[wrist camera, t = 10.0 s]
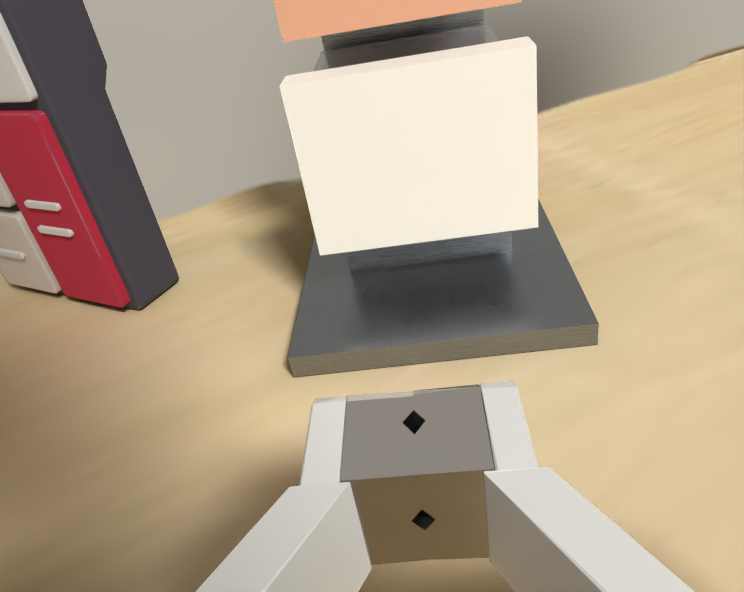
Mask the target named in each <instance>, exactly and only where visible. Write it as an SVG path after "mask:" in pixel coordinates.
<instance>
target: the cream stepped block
mask: <svg viewBox="0 0 744 592" xmlns="http://www.w3.org/2000/svg"><path fill="white" fill-rule="evenodd" d="M536 68H537V67H536V44H535V43H534V42H533V41H532V40H531V39H530V38H529V37H521V38H515V39H509V40H503V41H497V42H491V43H485V44H479V45H472V46H466V47H460V48H454V49H448V50H442V51H436V52H429V53H423V54H417V55H411V56H405V57H399V58H393V59H387V60H380V61H374V62H368V63H362V64H356V65H350V66H344V67H337V68H331V69H325V70H319V71H313V72H307V73H301V74H295V75H288V76H285V78H284V80H283V82H282V83H281V85H280V90H281V94H282V99H283V103H284V107H285V111H286V115H287V119H288V124H289V128H290V132H291V136H292V140H293V144H294V149H295V153H296V157H297V161H298V165H299V169H300V174H301V178H302V182H303V186H304V191H305V195H306V199H307V203H308V207H309V211H310V216H311V220H312V224H313V228H314V232H315V237H316V241H317V245H318V249H319V253H320V255H328V254H336V253H344V252H351V251H359V250H367V249H374V248H382V247H390V246H398V245H405V244H413V243H421V242H429V241H436V240H444V239H452V238H460V237H467V236H475V235H483V234H490V233H498V232H506V231H514V230H521V229H529V228H537V227H538V151H537V71H536V70H537V69H536Z"/></svg>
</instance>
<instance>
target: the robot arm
mask: <svg viewBox="0 0 744 592" xmlns="http://www.w3.org/2000/svg"><path fill="white" fill-rule="evenodd" d="M464 558H490V561H491V563H492V564H493V565H494V567H495V568H496V569H497V571H498V572H499V573H500V574H501V576H502V577H503V578H504V580H505V581H506V582H507V584H508V585H509V586H510V588H511V589H512V590H513V591H514V592H695V591H693V590H692V589H691V588H690V587H689V586H688V585H686V584H685V583H684V582H683V581H682V580H681V579H679V578H678V577H677V576H676V575H675V574H674V573H672V572H671V571H670V570H669V569H668V568H667V567H665V566H664V565H663V564H662V563H661V562H660V561H658V560H657V559H656V558H655V557H654V556H653V555H651V554H650V553H649V552H648V551H647V550H646V549H644V548H643V547H642V546H641V545H640V544H639V543H638V542H636V541H635V540H634V539H633V538H632V537H631V536H629V535H628V534H627V533H626V532H625V531H624V530H622V529H621V528H620V527H619V526H618V525H617V524H615V523H614V522H613V521H612V520H611V519H610V518H608V517H607V516H606V515H605V514H604V513H603V512H601V511H600V510H599V509H598V508H597V507H596V506H594V505H593V504H592V503H591V502H590V501H589V500H587V499H586V498H585V497H584V496H583V495H582V494H580V493H579V492H578V491H577V490H576V489H575V488H573V487H572V486H571V485H570V484H569V483H568V482H566V481H565V480H564V479H563V478H562V477H561V476H559V475H558V474H557V473H556V472H555V471H554V470H553V469H551V468H550V467H538V464H537V460H536V456H535V452H534V448H533V445H532V441H531V437H530V433H529V429H528V425H527V421H526V417H525V414H524V410H523V406H522V402H521V398H520V394H519V390H518V386H517V384H516V383H515V382H514V381H513V380H512V381H502V382H493V383H484V384H480V386H479V385H468V386H458V387H447V388H437V389H427V390H417V391H408V392H393V393H378V394H363V395H349V396H346V397H329V398H316V399H315V400H314V402H313V404H312V406H311V413H310V419H309V426H308V432H307V439H306V445H305V452H304V458H303V465H302V471H301V478H300V484H299V486H291V487H288V489H287V490H286V491H285V492H284V493H283V494H282V495H281V496H280V498H279V499H278V500H277V501H276V502H275V503H274V504H273V505H272V506H271V508H270V509H269V510H268V511H267V512H266V513H265V514H264V515H263V517H262V518H261V519H260V520H259V521H258V522H257V523H256V524H255V525H254V527H253V528H252V529H251V530H250V531H249V532H248V533H247V534H246V536H245V537H244V538H243V539H242V540H241V541H240V542H239V543H238V544H237V546H236V547H235V548H234V549H233V550H232V551H231V552H230V553H229V555H228V556H227V557H226V558H225V559H224V560H223V561H222V562H221V563H220V565H219V566H218V567H217V568H216V569H215V570H214V571H213V572H212V574H211V575H210V576H209V577H208V578H207V579H206V580H205V581H204V582H203V584H202V585H201V586H200V587H199V588H198V589H197V590H196V591H195V592H359V590H360V588H361V586H362V585H363V583H364V581H365V579H366V578H367V576H368V574H369V573H370V571H371V569H372V568H371V565H376V564H387V563H398V562H409V561H420V560H435V559H464Z"/></svg>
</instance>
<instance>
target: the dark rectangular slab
mask: <svg viewBox="0 0 744 592" xmlns="http://www.w3.org/2000/svg"><path fill="white" fill-rule="evenodd" d="M106 69H107V64H106V61H105V58H104V55H103V53H102V51H101V48H100V45H99V42H98V40H97V37H96V35H95V32H94V29H93V27H92V24H91V22H90V19H89V16H88V14H87V11H86V9H85V6H84V3H83V1H82V0H0V272H1V273H2V275H3V277H4V278H5V280H6V281H7V282H8V283H10V284H14V285H19V286H23V287H28V288H32V289H37V290H41V291H46V292H51V293H61V294H65V295H67V296H69V297H73V298H78V299H83V300H87V301H92V302H96V303H101V304H105V305H110V306H114V307H119V308H123V307H126V308H130V309H135V310H141V309H142V308H144V307H145V306H146V305H148V304H149V303H150V302H152V301H153V300H154V299H155V298H157V297H158V296H159V295H161V294H162V293H163V292H164V291H166V290H167V289H168V288H169V287H171V286H172V285H173V284H175V283H176V282H177V281H178V278H179V277H178V273H177V271H176V268H175V266H174V263H173V261H172V258H171V256H170V253H169V251H168V248H167V245H166V243H165V240H164V238H163V235H162V233H161V230H160V228H159V225H158V223H157V220H156V218H155V215H154V213H153V210H152V208H151V205H150V203H149V200H148V197H147V195H146V192H145V190H144V187H143V185H142V182H141V180H140V177H139V175H138V172H137V170H136V167H135V164H134V162H133V159H132V157H131V154H130V152H129V149H128V147H127V144H126V142H125V139H124V137H123V134H122V132H121V129H120V126H119V124H118V121H117V119H116V116H115V114H114V111H113V109H112V106H111V104H110V101H109V98H108V96H107V93H106V90H105V83H106Z"/></svg>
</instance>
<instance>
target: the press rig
mask: <svg viewBox="0 0 744 592" xmlns="http://www.w3.org/2000/svg"><path fill="white" fill-rule="evenodd" d="M483 11H484V10H483V9H478V10H472V11H466V12H460V13H454V14H448V15H442V16H436V17H431V18H425V19H419V20H413V21H407V22H401V23H395V24H389V25H383V26H377V27H372V28H366V29H360V30H354V31H348V32H342V33H336V34H330V35H324V36H321V37H322V42H323V47H324V51H323V52H321V54H320V57H319V59H318V61H317V63H316V66H315V68H314V71H319V70H325V69H331V68H337V67H344V66H350V65H356V64H362V63H368V62H374V61H380V60H387V59H393V58H399V57H405V56H411V55H417V54H423V53H429V52H436V51H442V50H448V49H454V48H460V47H466V46H472V45H479V44H485V43H491V42H497V41H499V40H498V39H497V37H496V36H495V35H494V33H493V32H492V30H491V29H490V28H489V26H488V25H487V24H485V25H484V12H483ZM598 324H599V323H598V321H597V319H596V317H595V315H594V313H593V311H592V309H591V307H590V305H589V303H588V301H587V299H586V297H585V295H584V292H583V290H582V288H581V286H580V284H579V282H578V280H577V278H576V276H575V274H574V272H573V270H572V268H571V266H570V263H569V261H568V259H567V257H566V255H565V253H564V251H563V249H562V247H561V245H560V243H559V241H558V239H557V237H556V234H555V232H554V230H553V228H552V226H551V224H550V222H549V220H548V218H547V216H546V214H545V212H544V210H543V208H542V206H541V203H540V201H539V199H538V227H537V228H529V229H521V230H514V231H506V232H498V233H490V234H483V235H475V236H467V237H460V238H452V239H444V240H436V241H429V242H421V243H413V244H405V245H398V246H390V247H382V248H374V249H367V250H359V251H351V252H344V253H336V254H328V255H320V253H319V249H318V245H317V241H316V237H315V236H314V240H313V245H312V249H311V254H310V258H309V263H308V268H307V272H306V277H305V281H304V286H303V290H302V295H301V300H300V304H299V309H298V313H297V318H296V322H295V327H294V331H293V336H292V341H291V345H290V350H289V354H288V361H289V364H290V367H291V371H292V374H293V377H299V376H308V375H318V374H327V373H336V372H346V371H355V370H364V369H373V368H383V367H392V366H401V365H411V364H420V363H429V362H438V361H448V360H457V359H466V358H476V357H485V356H494V355H503V354H513V353H522V352H531V351H541V350H550V349H559V348H568V347H578V346H587V345H596V344H597V343H598Z"/></svg>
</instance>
